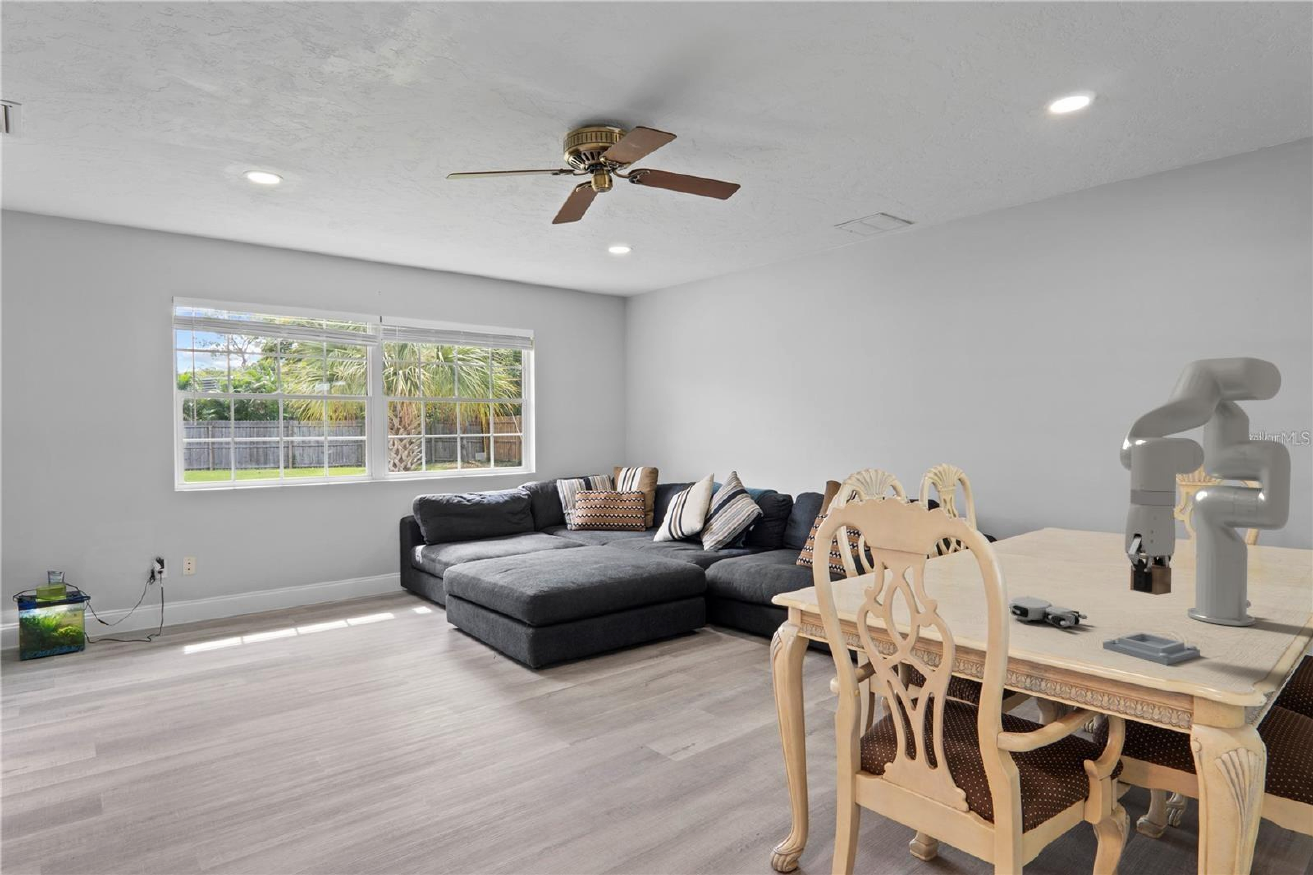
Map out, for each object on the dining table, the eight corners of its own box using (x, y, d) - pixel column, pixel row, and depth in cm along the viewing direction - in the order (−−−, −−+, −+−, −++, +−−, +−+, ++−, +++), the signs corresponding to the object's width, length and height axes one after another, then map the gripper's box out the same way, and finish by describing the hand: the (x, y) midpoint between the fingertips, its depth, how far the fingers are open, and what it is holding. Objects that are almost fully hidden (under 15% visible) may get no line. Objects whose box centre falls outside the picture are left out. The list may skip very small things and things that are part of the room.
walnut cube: (1144, 587, 149) (1144, 563, 149) (1170, 592, 144) (1171, 567, 144) (1130, 589, 146) (1130, 565, 146) (1157, 595, 142) (1157, 569, 142)
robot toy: (1089, 628, 166) (1023, 610, 178) (1091, 609, 166) (1025, 592, 177) (1066, 638, 158) (998, 618, 170) (1068, 618, 158) (1000, 600, 170)
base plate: (1136, 639, 154) (1136, 628, 154) (1199, 655, 143) (1200, 643, 143) (1102, 647, 148) (1103, 636, 148) (1166, 665, 138) (1167, 652, 138)
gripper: (1155, 496, 152) (1154, 582, 153) (1108, 499, 144) (1106, 589, 145) (1196, 500, 146) (1194, 589, 146) (1148, 502, 138) (1146, 597, 138)
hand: (1150, 588), depth 145 cm, fingers closed on walnut cube, 5 cm apart
